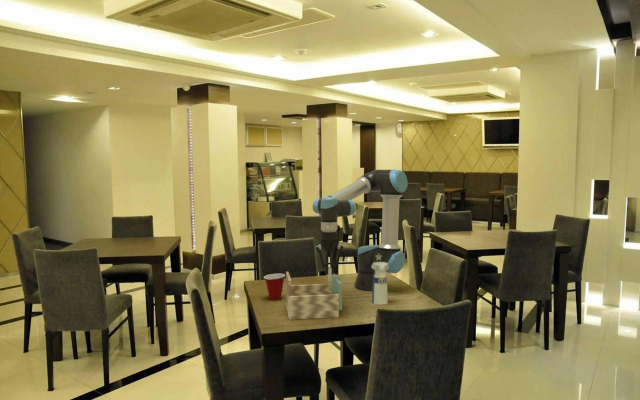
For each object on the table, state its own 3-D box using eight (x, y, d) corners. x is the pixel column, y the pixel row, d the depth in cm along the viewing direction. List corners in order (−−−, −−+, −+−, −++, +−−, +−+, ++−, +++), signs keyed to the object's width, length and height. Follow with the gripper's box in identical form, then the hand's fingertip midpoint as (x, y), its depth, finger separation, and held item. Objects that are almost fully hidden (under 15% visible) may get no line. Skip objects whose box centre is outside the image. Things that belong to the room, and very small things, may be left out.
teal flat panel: (336, 298, 227) (336, 273, 226) (343, 309, 208) (343, 283, 207) (332, 298, 227) (332, 273, 226) (339, 310, 208) (339, 283, 207)
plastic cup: (265, 295, 243) (265, 272, 242) (286, 295, 243) (286, 272, 242) (262, 301, 232) (262, 277, 232) (284, 301, 232) (283, 277, 231)
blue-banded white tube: (391, 304, 226) (391, 253, 224) (374, 305, 225) (374, 253, 223) (386, 299, 234) (386, 250, 233) (369, 300, 233) (369, 250, 231)
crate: (331, 304, 227) (331, 269, 226) (338, 317, 208) (338, 279, 206) (286, 306, 224) (285, 271, 223) (289, 319, 205) (288, 281, 204)
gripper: (316, 232, 210) (316, 284, 212) (344, 231, 212) (345, 283, 213) (314, 230, 218) (314, 280, 219) (341, 229, 219) (342, 279, 221)
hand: (329, 281), depth 216 cm, fingers closed
